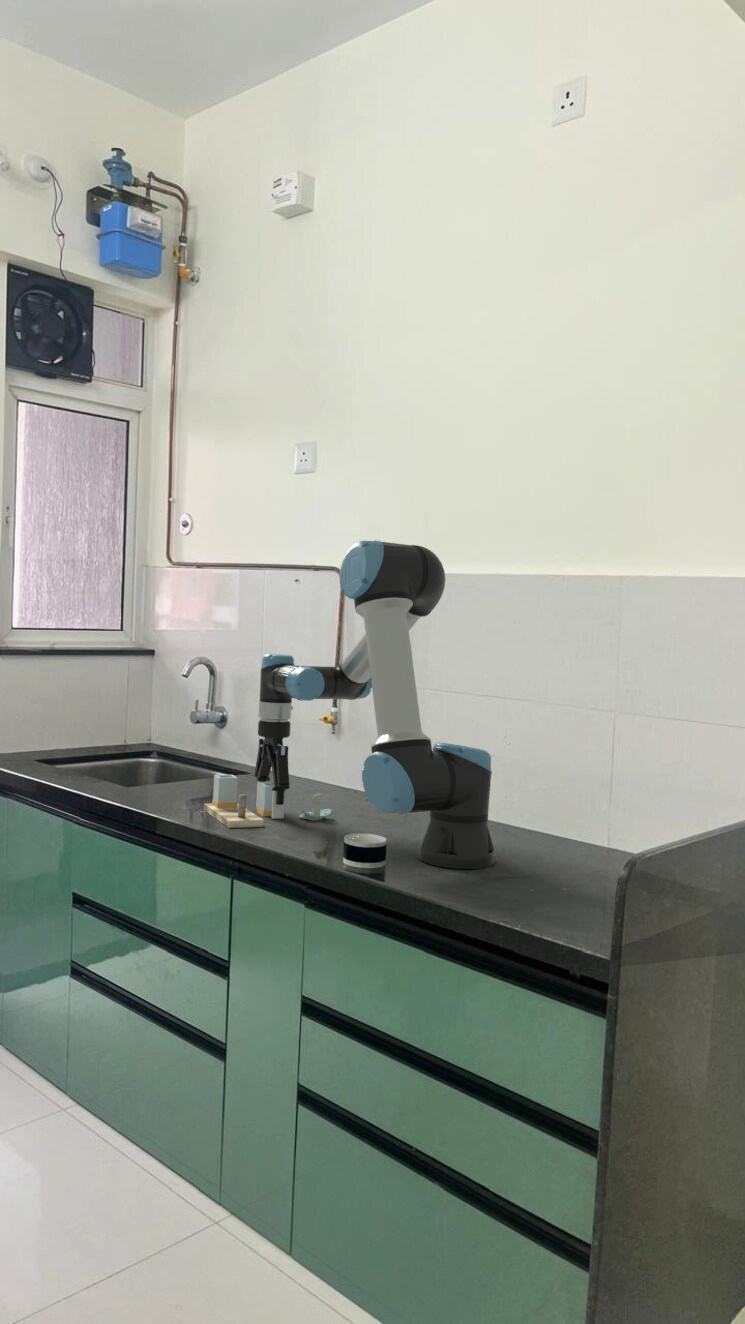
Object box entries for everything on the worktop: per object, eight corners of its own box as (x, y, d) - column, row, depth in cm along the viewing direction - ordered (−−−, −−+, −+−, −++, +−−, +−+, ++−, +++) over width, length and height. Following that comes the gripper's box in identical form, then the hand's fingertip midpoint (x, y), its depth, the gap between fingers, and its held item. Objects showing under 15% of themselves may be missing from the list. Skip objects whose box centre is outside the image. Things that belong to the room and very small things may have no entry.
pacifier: (293, 818, 236) (307, 822, 231) (294, 791, 236) (308, 795, 231) (320, 816, 241) (333, 820, 236) (321, 790, 240) (335, 793, 236)
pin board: (263, 826, 224) (264, 797, 223) (228, 827, 220) (230, 798, 220) (236, 809, 242) (237, 782, 242) (203, 809, 238) (205, 782, 238)
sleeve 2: (282, 815, 237) (284, 786, 237) (263, 816, 235) (265, 786, 235) (275, 811, 241) (277, 782, 241) (257, 812, 239) (258, 783, 239)
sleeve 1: (237, 807, 236) (238, 777, 236) (217, 808, 234) (219, 778, 234) (231, 803, 240) (232, 774, 240) (211, 804, 238) (213, 774, 238)
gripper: (307, 725, 228) (301, 822, 229) (273, 714, 249) (268, 803, 250) (275, 725, 225) (270, 824, 226) (244, 714, 246) (239, 804, 247)
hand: (269, 813), depth 238 cm, fingers open, 10 cm apart
